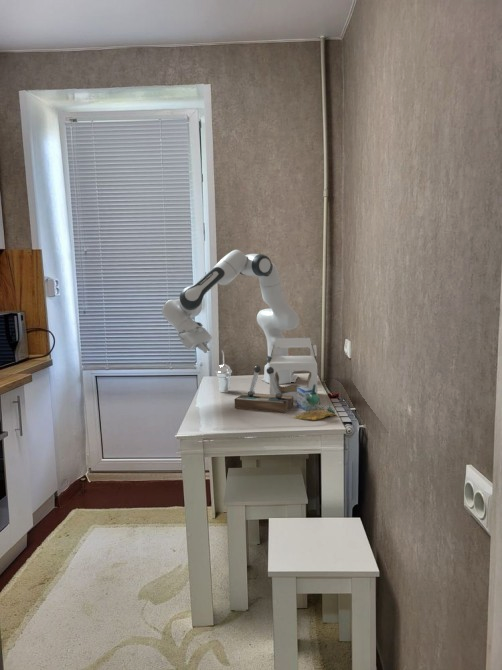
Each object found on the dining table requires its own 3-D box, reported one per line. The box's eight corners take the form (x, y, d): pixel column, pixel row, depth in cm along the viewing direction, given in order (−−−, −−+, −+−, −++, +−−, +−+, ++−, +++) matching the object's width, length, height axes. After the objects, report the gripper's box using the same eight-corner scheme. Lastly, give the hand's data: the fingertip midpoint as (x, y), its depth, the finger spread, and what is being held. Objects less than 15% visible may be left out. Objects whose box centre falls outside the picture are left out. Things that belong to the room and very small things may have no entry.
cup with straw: (213, 392, 237) (211, 352, 234) (219, 388, 245) (218, 349, 243) (229, 393, 234) (228, 353, 231) (235, 389, 243) (234, 350, 240)
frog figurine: (340, 421, 188) (336, 384, 186) (294, 426, 189) (290, 390, 187) (336, 413, 198) (333, 378, 196) (293, 418, 199) (289, 384, 197)
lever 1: (248, 393, 214) (256, 364, 211) (255, 396, 213) (262, 366, 210) (245, 395, 211) (253, 365, 208) (252, 397, 210) (260, 367, 207)
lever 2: (277, 398, 209) (266, 367, 209) (284, 396, 208) (273, 365, 208) (275, 400, 206) (264, 368, 207) (282, 398, 205) (271, 366, 205)
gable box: (316, 393, 232) (316, 335, 228) (318, 400, 218) (317, 339, 215) (270, 393, 234) (269, 336, 230) (269, 400, 220) (268, 340, 217)
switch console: (245, 401, 220) (245, 391, 220) (294, 405, 212) (294, 395, 211) (234, 408, 209) (234, 397, 209) (286, 412, 201) (286, 402, 200)
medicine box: (296, 406, 210) (296, 386, 209) (305, 404, 212) (305, 385, 211) (305, 410, 203) (305, 390, 202) (314, 409, 205) (314, 389, 204)
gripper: (180, 327, 209) (201, 350, 207) (202, 322, 228) (221, 343, 226) (172, 337, 211) (192, 360, 209) (194, 331, 230) (213, 352, 228)
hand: (207, 351), depth 218 cm, fingers closed
